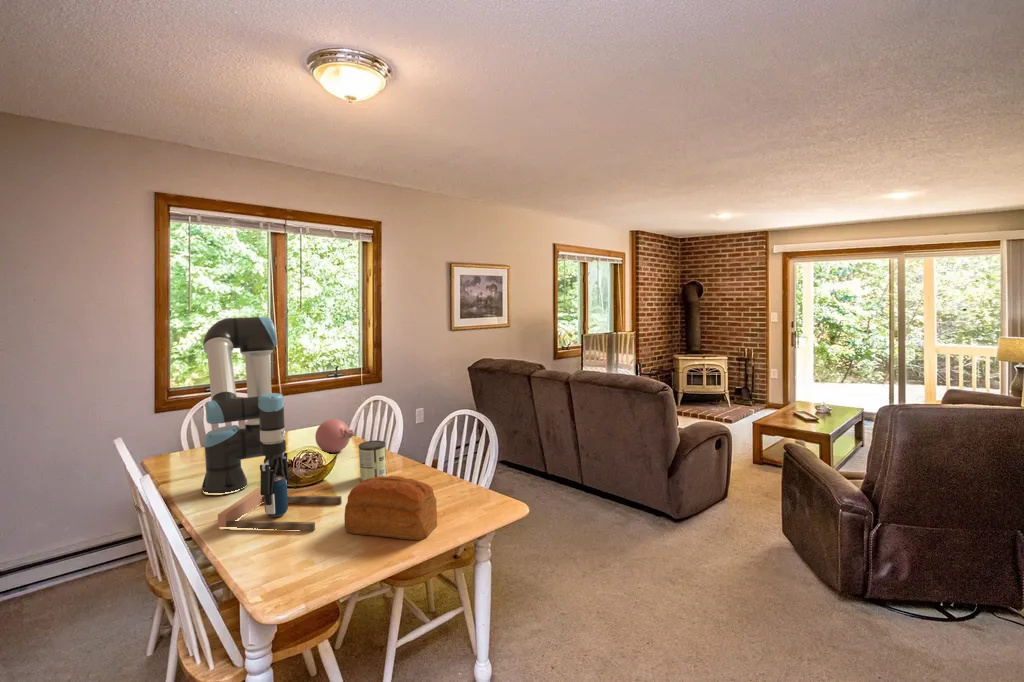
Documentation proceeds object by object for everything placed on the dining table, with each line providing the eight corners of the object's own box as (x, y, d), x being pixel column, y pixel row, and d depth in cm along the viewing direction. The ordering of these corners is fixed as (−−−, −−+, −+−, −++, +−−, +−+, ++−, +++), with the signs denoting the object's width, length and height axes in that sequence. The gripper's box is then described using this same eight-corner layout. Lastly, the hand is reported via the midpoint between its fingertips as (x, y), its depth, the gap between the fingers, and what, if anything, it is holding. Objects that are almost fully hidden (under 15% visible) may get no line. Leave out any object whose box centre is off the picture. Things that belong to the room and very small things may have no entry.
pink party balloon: (341, 460, 233) (339, 426, 232) (308, 454, 242) (307, 421, 241) (365, 450, 247) (364, 418, 245) (333, 445, 256) (332, 414, 254)
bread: (421, 544, 153) (419, 491, 152) (339, 535, 159) (337, 485, 158) (441, 521, 169) (440, 473, 167) (366, 514, 175) (364, 467, 174)
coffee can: (365, 474, 214) (364, 440, 213) (390, 474, 213) (389, 440, 212) (355, 482, 204) (354, 447, 203) (381, 483, 203) (380, 447, 202)
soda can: (288, 507, 179) (286, 473, 178) (288, 515, 173) (286, 480, 172) (266, 510, 177) (264, 476, 175) (264, 519, 170) (262, 483, 169)
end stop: (218, 530, 164) (217, 514, 164) (257, 501, 186) (257, 488, 186) (226, 530, 164) (225, 514, 163) (264, 502, 186) (263, 488, 186)
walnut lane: (226, 530, 164) (225, 522, 164) (264, 502, 186) (264, 495, 186) (313, 531, 162) (313, 523, 162) (341, 503, 184) (341, 496, 184)
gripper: (268, 450, 162) (272, 521, 164) (298, 432, 182) (301, 497, 184) (244, 450, 163) (249, 521, 165) (277, 432, 182) (280, 496, 185)
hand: (276, 508), depth 174 cm, fingers closed on soda can, 7 cm apart
